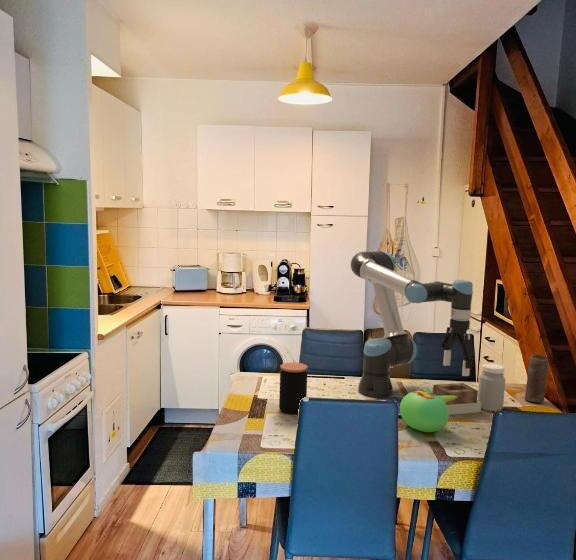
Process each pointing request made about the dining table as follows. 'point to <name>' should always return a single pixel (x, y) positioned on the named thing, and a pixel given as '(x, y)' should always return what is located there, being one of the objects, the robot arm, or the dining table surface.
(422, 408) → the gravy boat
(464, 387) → the brown hollow cube
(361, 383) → the robot arm
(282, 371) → the coffee jar
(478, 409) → the panel
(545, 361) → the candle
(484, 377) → the jar
